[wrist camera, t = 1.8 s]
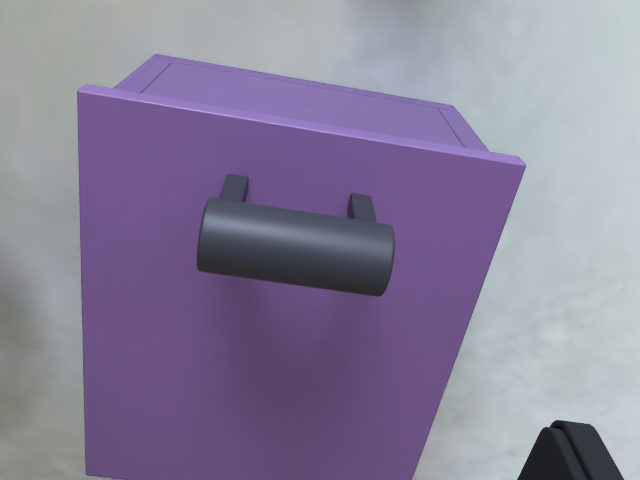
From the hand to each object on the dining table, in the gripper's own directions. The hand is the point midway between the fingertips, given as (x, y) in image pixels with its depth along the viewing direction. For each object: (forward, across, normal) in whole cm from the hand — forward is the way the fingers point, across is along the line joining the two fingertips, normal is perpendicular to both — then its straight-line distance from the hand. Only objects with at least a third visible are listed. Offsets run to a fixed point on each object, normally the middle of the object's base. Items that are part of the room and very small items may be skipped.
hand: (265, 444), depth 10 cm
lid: (+11, 0, +6) cm, 13 cm away
